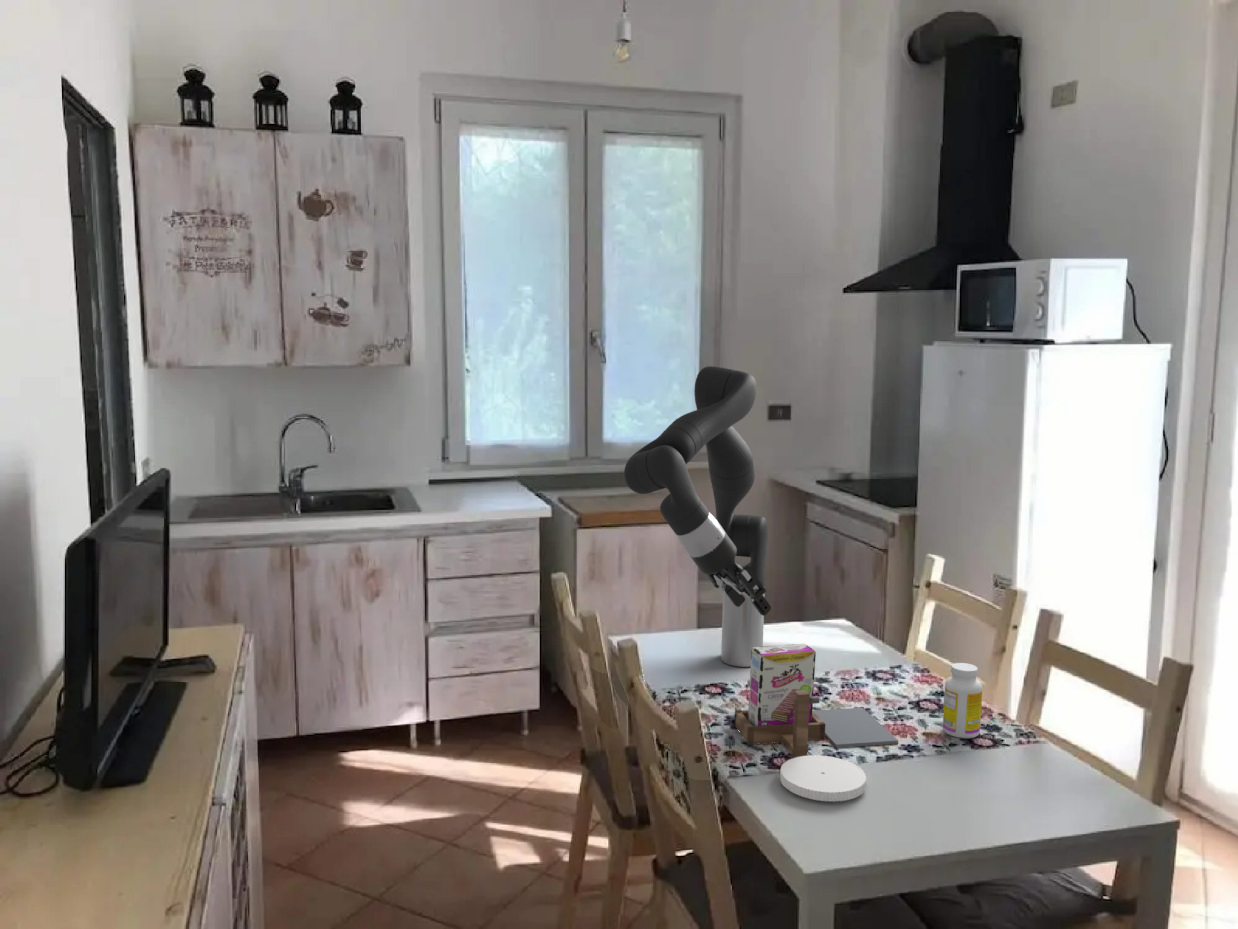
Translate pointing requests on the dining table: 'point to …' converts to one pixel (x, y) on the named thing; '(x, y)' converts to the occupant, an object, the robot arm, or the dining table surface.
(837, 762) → the plastic lid
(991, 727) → the dining table surface
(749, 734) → the walnut holder
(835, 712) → the slate mat
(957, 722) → the supplement bottle
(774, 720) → the candy bar box
